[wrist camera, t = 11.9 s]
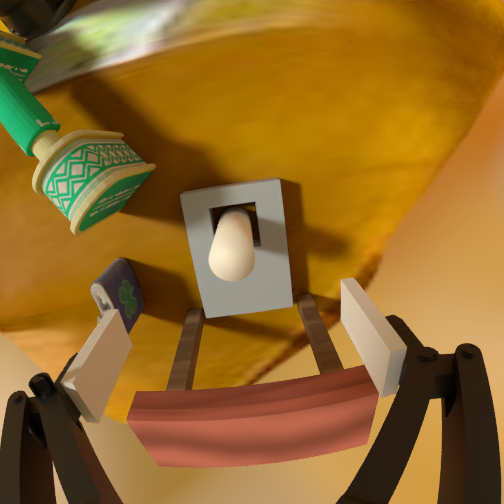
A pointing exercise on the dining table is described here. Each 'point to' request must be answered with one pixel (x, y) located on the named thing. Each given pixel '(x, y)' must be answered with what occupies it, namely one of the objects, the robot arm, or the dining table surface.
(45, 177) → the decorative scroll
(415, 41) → the dining table surface
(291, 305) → the socket block
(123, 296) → the flask
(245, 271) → the peg
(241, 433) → the curved red bench
